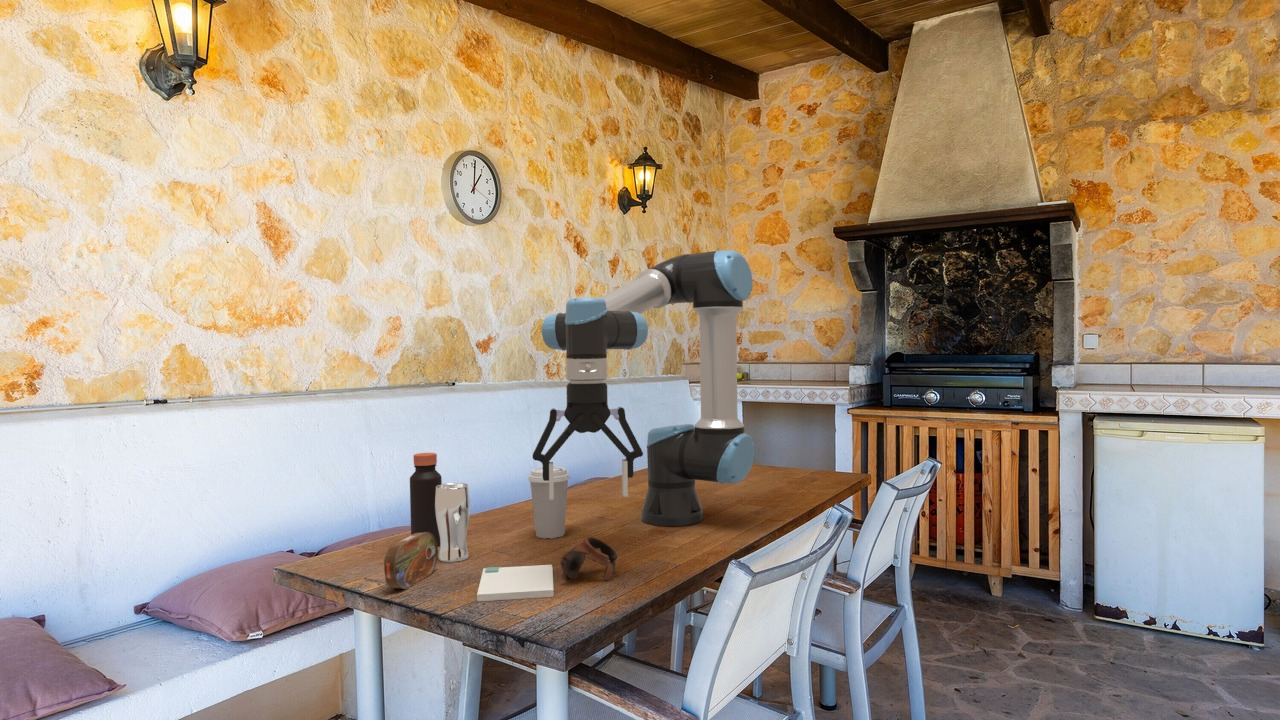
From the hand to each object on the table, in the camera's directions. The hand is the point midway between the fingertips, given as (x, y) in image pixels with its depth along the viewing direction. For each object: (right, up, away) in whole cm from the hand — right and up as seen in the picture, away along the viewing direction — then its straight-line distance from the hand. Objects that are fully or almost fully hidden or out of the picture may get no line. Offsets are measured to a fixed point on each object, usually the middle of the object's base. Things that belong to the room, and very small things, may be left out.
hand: (588, 496), depth 138 cm
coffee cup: (-11, -15, +33) cm, 38 cm away
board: (-13, -16, -2) cm, 20 cm away
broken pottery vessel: (-1, -16, +2) cm, 16 cm away
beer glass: (-29, -16, +16) cm, 36 cm away
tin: (-33, -16, +1) cm, 37 cm away
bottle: (-37, -16, +27) cm, 49 cm away
